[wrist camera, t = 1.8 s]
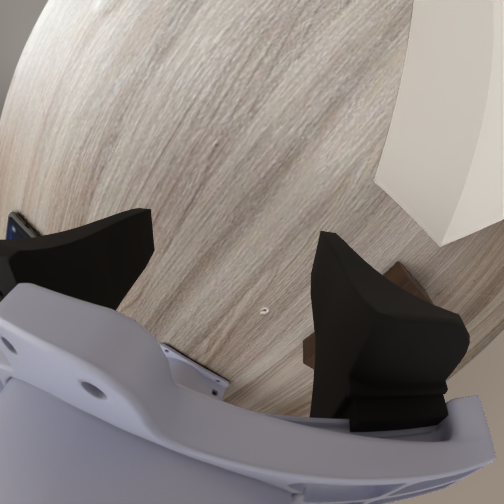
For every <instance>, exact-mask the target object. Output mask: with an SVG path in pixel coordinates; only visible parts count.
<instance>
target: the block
mask: <svg viewBox="0 0 504 504" xmlns="http://www.w3.org/2000/svg"><path fill="white" fill-rule="evenodd" d="M374 182H375V183H376V184H377V185H378V186H379V187H381V188H382V189H383V190H384V191H385V192H386V193H387V194H388V195H389V196H390V197H391V198H392V199H393V200H395V201H396V202H397V203H398V204H399V205H400V206H401V207H402V208H403V209H404V210H405V211H406V212H407V213H408V214H409V215H410V216H411V217H412V218H413V219H414V220H415V221H416V222H417V223H418V224H419V225H420V226H421V227H422V228H423V230H424V231H425V232H426V233H427V234H428V235H429V236H430V237H431V238H432V239H433V240H434V241H435V242H436V244H437V245H438V246H439V247H441V246H444V245H446V244H448V243H451V242H453V241H456V240H458V239H460V238H463V237H465V236H467V235H470V234H472V233H474V232H476V231H479V230H481V229H483V228H485V227H488V226H490V225H492V224H494V223H496V222H499V221H501V220H503V219H504V0H414V2H413V11H412V19H411V26H410V33H409V39H408V46H407V51H406V57H405V62H404V67H403V72H402V77H401V82H400V86H399V91H398V95H397V99H396V104H395V108H394V112H393V116H392V120H391V123H390V127H389V131H388V135H387V138H386V142H385V145H384V149H383V152H382V155H381V159H380V162H379V165H378V169H377V172H376V175H375V178H374Z"/></svg>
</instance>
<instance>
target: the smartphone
mask: <svg viewBox="0 0 504 504" xmlns="http://www.w3.org/2000/svg"><path fill="white" fill-rule="evenodd" d="M32 237H39V236H38V235H37V234H36V233H35V232H34V231H33V230H32V229H31V228H30V227H29V226H28V225H27V224H26V223H25V222H24V221H23V220H22V218H21V217H20V216H19V215H18V214H17V213H16V212H11V213H10V214H9V216H8V222H7V230H6V240H10V239H24V238H32Z"/></svg>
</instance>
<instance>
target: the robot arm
mask: <svg viewBox="0 0 504 504" xmlns="http://www.w3.org/2000/svg"><path fill="white" fill-rule="evenodd" d="M153 252H154V240H153V230H152V218H151V209H142V208H137V209H131V210H128V211H124V212H121V213H118V214H115V215H112V216H110V217H107V218H104V219H101V220H98V221H95V222H92V223H90V224H87V225H84V226H81V227H78V228H74V229H71V230H67V231H63V232H59V233H54V234H49V235H44V236H39V237H32V238H24V239H10V240H0V504H385V503H390V502H394V501H399V500H404V499H408V498H412V497H416V496H420V495H424V494H427V493H431V492H434V491H438V490H441V489H444V488H447V487H449V486H451V485H453V484H455V483H457V482H459V481H461V480H463V479H464V478H466V477H468V476H470V475H472V474H473V473H475V472H477V471H478V470H480V469H482V468H483V467H485V466H486V465H488V464H490V463H491V462H493V461H494V460H495V458H496V455H495V451H494V447H493V442H492V438H491V434H490V431H489V427H488V424H487V420H486V417H485V413H484V410H483V407H482V404H481V401H480V398H479V396H478V395H474V396H468V397H462V398H455V399H452V400H450V401H449V402H447V403H445V399H444V396H443V394H445V393H446V392H447V390H448V388H447V385H446V381H445V380H446V379H447V378H448V377H449V375H450V374H451V373H452V372H453V370H454V369H455V368H456V367H457V365H458V364H459V363H460V362H461V360H462V359H463V357H464V355H465V354H466V352H467V349H468V346H469V343H470V336H469V333H468V331H467V329H466V327H465V325H464V323H463V321H462V319H461V317H460V316H459V315H458V314H456V313H453V312H451V311H448V310H445V309H443V308H440V307H437V306H435V305H433V304H431V303H428V302H426V301H424V300H422V299H420V298H418V297H416V296H414V295H412V294H411V293H409V292H407V291H405V290H404V289H402V288H400V287H399V286H397V285H396V284H394V283H393V282H391V281H390V280H388V279H387V278H385V277H384V276H383V275H381V274H380V273H379V272H377V271H376V270H375V269H374V268H372V267H371V266H370V265H369V264H368V263H367V262H366V261H364V260H363V259H362V258H361V257H360V256H359V255H358V254H357V253H356V252H355V251H354V250H353V249H352V248H351V247H350V246H349V245H348V244H347V243H346V242H345V241H344V240H343V239H342V238H341V237H340V236H338V235H337V234H336V233H331V232H325V231H320V236H319V241H318V245H317V250H316V255H315V259H314V263H313V268H312V272H311V301H312V310H313V320H314V330H315V367H314V382H313V393H312V403H311V412H310V417H297V416H286V415H277V414H269V413H261V412H254V411H250V410H247V409H244V408H241V407H238V406H235V405H232V404H229V403H226V402H224V401H223V397H224V392H225V388H226V387H228V386H229V382H228V381H227V380H225V379H223V378H221V377H220V376H218V375H216V374H214V373H212V372H211V371H209V370H207V369H205V368H204V367H202V366H200V365H198V364H197V363H195V362H193V361H192V360H190V359H188V358H187V357H185V356H183V355H182V354H180V353H178V352H177V351H175V350H174V349H172V348H170V347H169V346H167V345H166V344H160V345H159V343H158V341H157V339H156V338H155V337H154V336H153V335H152V334H151V333H149V332H148V331H147V330H146V329H145V328H144V327H143V326H141V325H140V324H139V323H138V322H137V321H136V320H134V319H132V318H130V317H128V316H126V315H123V314H121V313H119V312H117V311H116V309H117V308H118V306H119V304H120V303H121V301H122V300H123V298H124V297H125V296H126V294H127V293H128V291H129V290H130V289H131V287H132V286H133V284H134V283H135V282H136V280H137V279H138V277H139V276H140V275H141V273H142V272H143V270H144V269H145V267H146V266H147V264H148V262H149V260H150V258H151V256H152V254H153Z"/></svg>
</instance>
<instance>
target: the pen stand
mask: <svg viewBox="0 0 504 504" xmlns="http://www.w3.org/2000/svg"><path fill="white" fill-rule="evenodd" d="M383 276H384V277H385V278H387V279H388V280H390V281H391V282H393V283H394V284H396V285H397V286H399V287H400V288H402V289H404V290H405V291H407V292H409V293H411V294H412V295H414V296H416V297H418V298H420V299H422V300H424V301H426V302H428V303H431V304H433V302H432V301H431V299H430V297H429V296H428V294H427V292H426V291H425V290H424V289H423V287H422V286H421V285H420V284H419V283H418V282H417V281H416V279H415V278H414V277H413V276H412V275H411V274H410V273H409V272H408V271H407V270H406V269H405V268H404V266H403V265H402V264H401V263H400V262H399V261H398V262H397V263H396V264H395V265H394V266H393V267H392V268H391V269H389V270H388V271H387V272H386V273H385V274H384V275H383ZM433 305H434V304H433ZM303 363H304V364H305V365H307V366H309V367H311V368H312V369H314V367H315V332H314V333H313V334H311V335H310V336H309V337H307V338H306V339H305V340H303Z"/></svg>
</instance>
